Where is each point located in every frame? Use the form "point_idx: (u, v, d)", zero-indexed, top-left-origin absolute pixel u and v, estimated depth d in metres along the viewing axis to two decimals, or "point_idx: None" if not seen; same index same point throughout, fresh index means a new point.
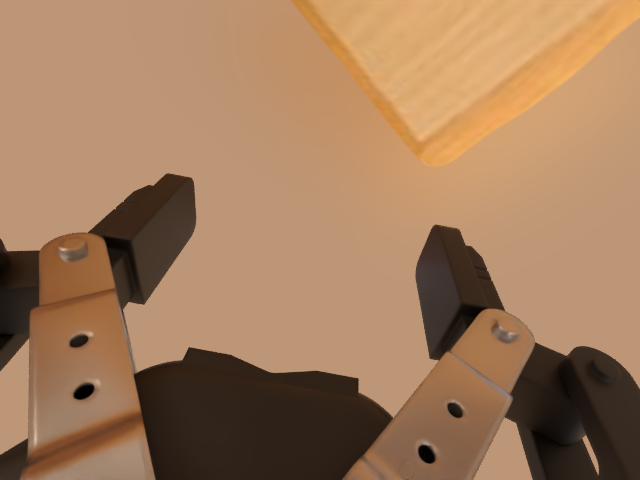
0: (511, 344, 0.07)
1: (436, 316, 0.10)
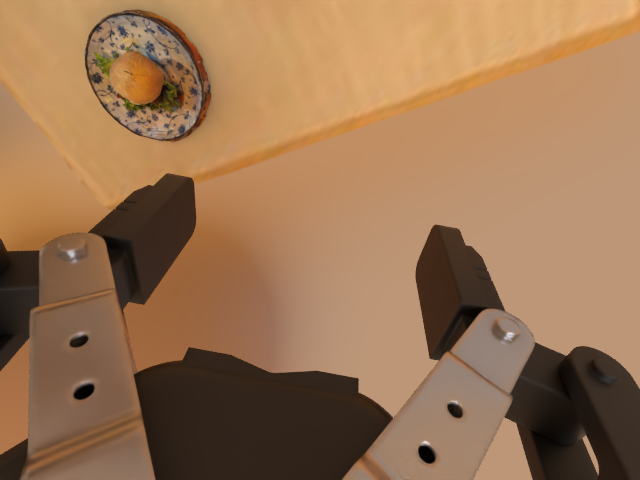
0: (511, 344, 0.07)
1: (436, 316, 0.10)
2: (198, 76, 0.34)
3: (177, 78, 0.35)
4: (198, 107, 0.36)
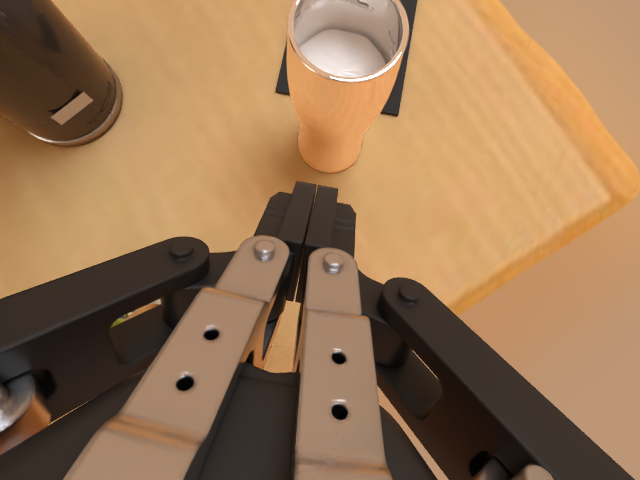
0: (331, 273, 0.08)
1: None
2: None
3: None
4: None
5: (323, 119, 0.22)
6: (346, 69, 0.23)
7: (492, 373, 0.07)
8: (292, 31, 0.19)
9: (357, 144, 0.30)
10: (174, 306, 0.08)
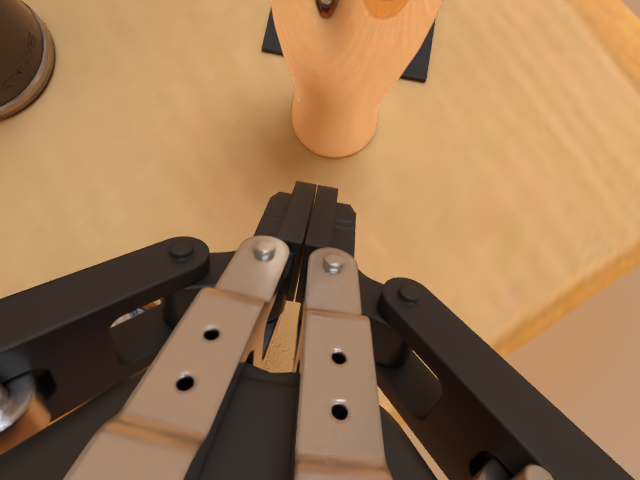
0: (331, 273, 0.08)
1: None
2: None
3: None
4: None
5: (327, 56, 0.14)
6: None
7: (493, 373, 0.07)
8: None
9: (374, 115, 0.22)
10: (174, 306, 0.08)
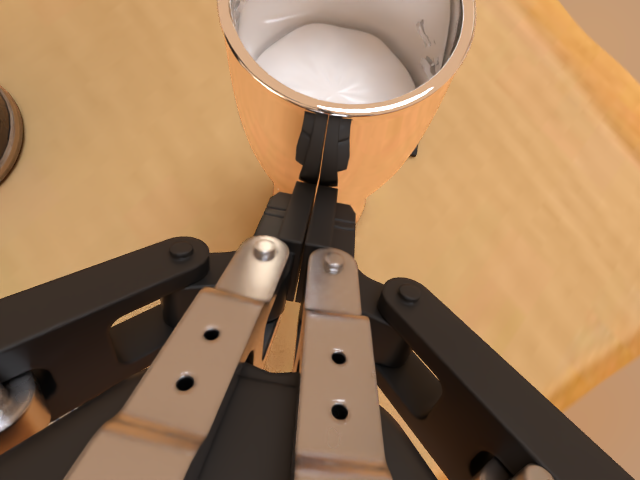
0: (331, 273, 0.08)
1: None
2: None
3: None
4: None
5: (303, 179, 0.12)
6: (344, 91, 0.13)
7: (493, 373, 0.07)
8: (227, 7, 0.09)
9: (360, 202, 0.20)
10: (174, 306, 0.08)
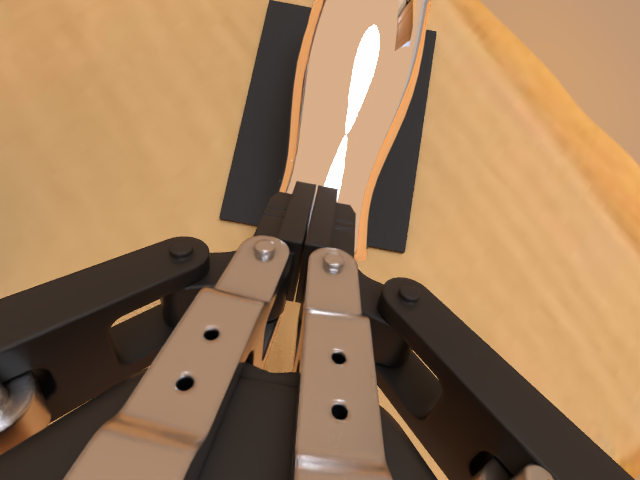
0: (331, 273, 0.08)
1: None
2: None
3: None
4: None
5: (360, 21, 0.17)
6: None
7: (492, 372, 0.07)
8: None
9: (371, 202, 0.19)
10: (174, 306, 0.08)
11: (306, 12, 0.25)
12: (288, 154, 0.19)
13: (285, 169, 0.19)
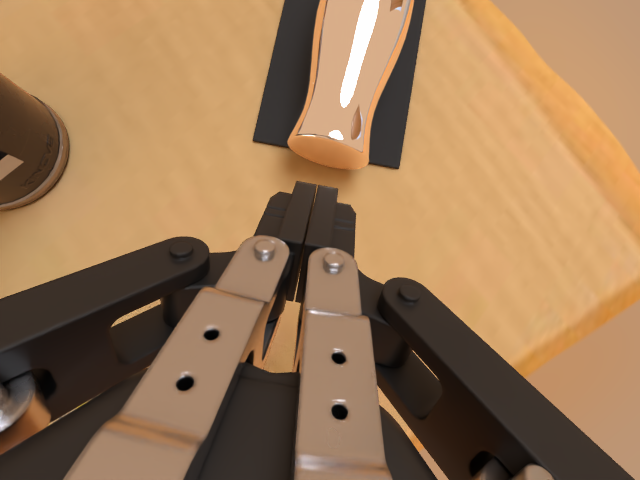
0: (331, 273, 0.08)
1: None
2: None
3: None
4: None
5: None
6: None
7: (493, 373, 0.07)
8: None
9: (372, 117, 0.25)
10: (174, 306, 0.08)
11: None
12: (310, 80, 0.25)
13: (308, 91, 0.25)
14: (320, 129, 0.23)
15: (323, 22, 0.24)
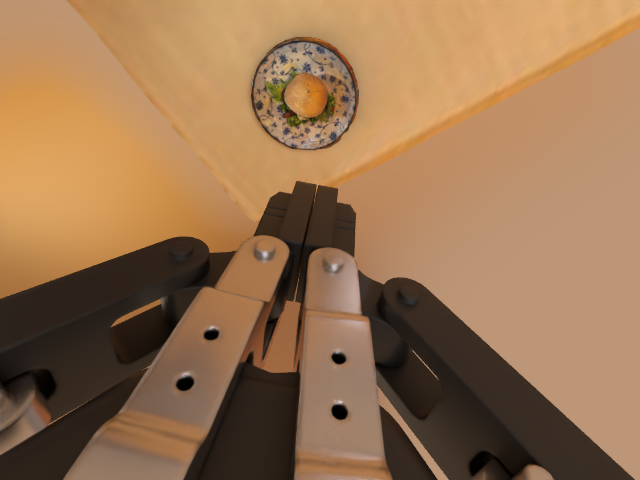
0: (331, 273, 0.08)
1: None
2: (352, 84, 0.38)
3: (330, 90, 0.39)
4: (349, 112, 0.40)
5: None
6: None
7: (492, 373, 0.07)
8: None
9: None
10: (174, 306, 0.08)
11: None
12: None
13: None
14: None
15: None
